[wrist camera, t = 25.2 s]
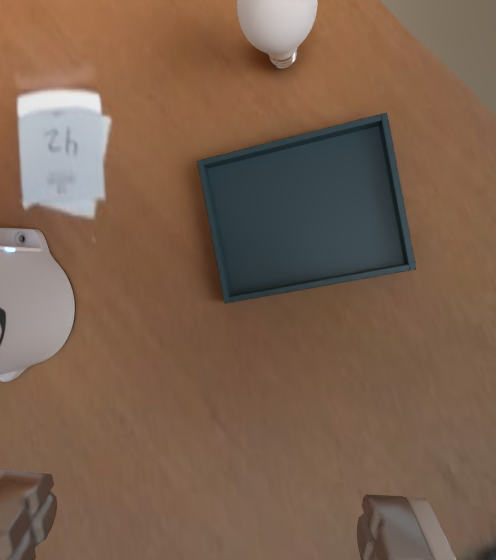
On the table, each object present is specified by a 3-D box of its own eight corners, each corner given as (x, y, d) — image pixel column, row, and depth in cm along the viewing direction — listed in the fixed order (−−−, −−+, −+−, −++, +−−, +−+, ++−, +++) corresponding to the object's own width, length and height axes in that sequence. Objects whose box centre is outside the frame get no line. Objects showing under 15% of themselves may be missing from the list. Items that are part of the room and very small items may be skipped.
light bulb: (289, 103, 38) (280, 40, 27) (239, 68, 39) (211, -7, 28) (329, 47, 37) (337, -41, 26) (278, 12, 38) (264, -88, 27)
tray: (228, 302, 40) (224, 303, 39) (201, 165, 40) (197, 160, 38) (411, 268, 37) (416, 269, 35) (383, 119, 37) (387, 112, 35)
